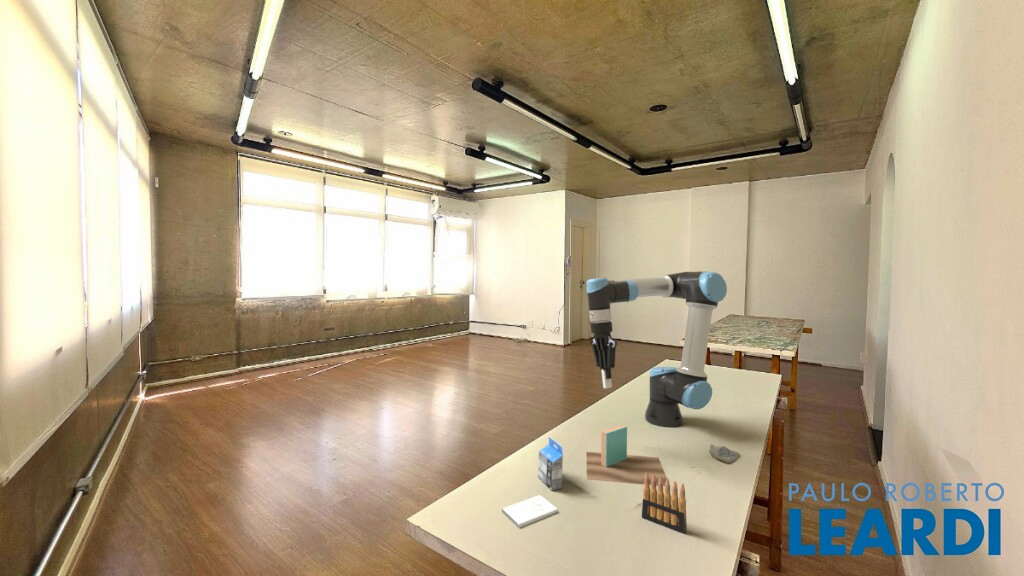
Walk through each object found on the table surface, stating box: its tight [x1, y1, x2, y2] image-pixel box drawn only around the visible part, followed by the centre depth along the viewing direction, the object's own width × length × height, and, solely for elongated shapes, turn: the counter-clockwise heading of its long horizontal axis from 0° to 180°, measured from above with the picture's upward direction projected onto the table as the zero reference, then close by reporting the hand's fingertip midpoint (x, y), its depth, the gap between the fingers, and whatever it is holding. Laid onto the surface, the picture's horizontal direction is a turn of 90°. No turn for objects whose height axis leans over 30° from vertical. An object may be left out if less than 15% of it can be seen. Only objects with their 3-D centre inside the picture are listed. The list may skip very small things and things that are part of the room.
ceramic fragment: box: [708, 444, 740, 465], centre depth 140 cm, size 11×3×10 cm
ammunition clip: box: [641, 472, 688, 535], centre depth 101 cm, size 11×2×12 cm, turn 52°
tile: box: [600, 424, 628, 467], centre depth 133 cm, size 2×10×11 cm, turn 125°
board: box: [586, 451, 668, 487], centre depth 129 cm, size 19×24×1 cm
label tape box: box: [537, 436, 564, 491], centre depth 121 cm, size 9×4×12 cm, turn 23°
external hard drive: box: [501, 494, 559, 529], centre depth 107 cm, size 2×8×12 cm
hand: (607, 387), depth 142 cm, fingers closed
